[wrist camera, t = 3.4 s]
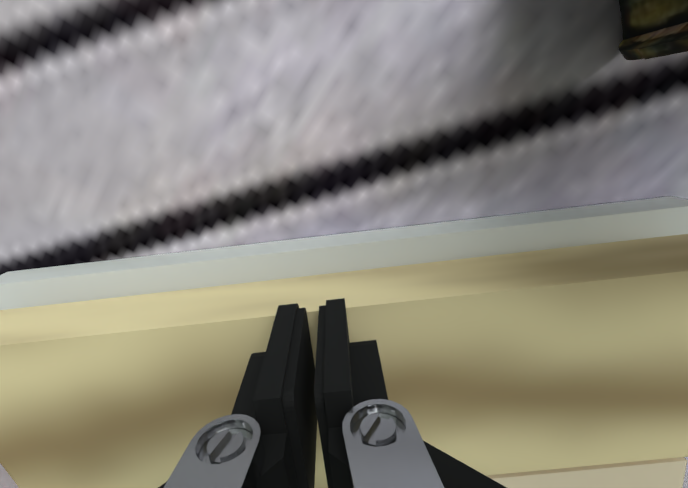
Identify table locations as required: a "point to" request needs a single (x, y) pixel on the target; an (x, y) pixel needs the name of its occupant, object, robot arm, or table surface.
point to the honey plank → (395, 355)
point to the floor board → (378, 252)
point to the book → (653, 28)
